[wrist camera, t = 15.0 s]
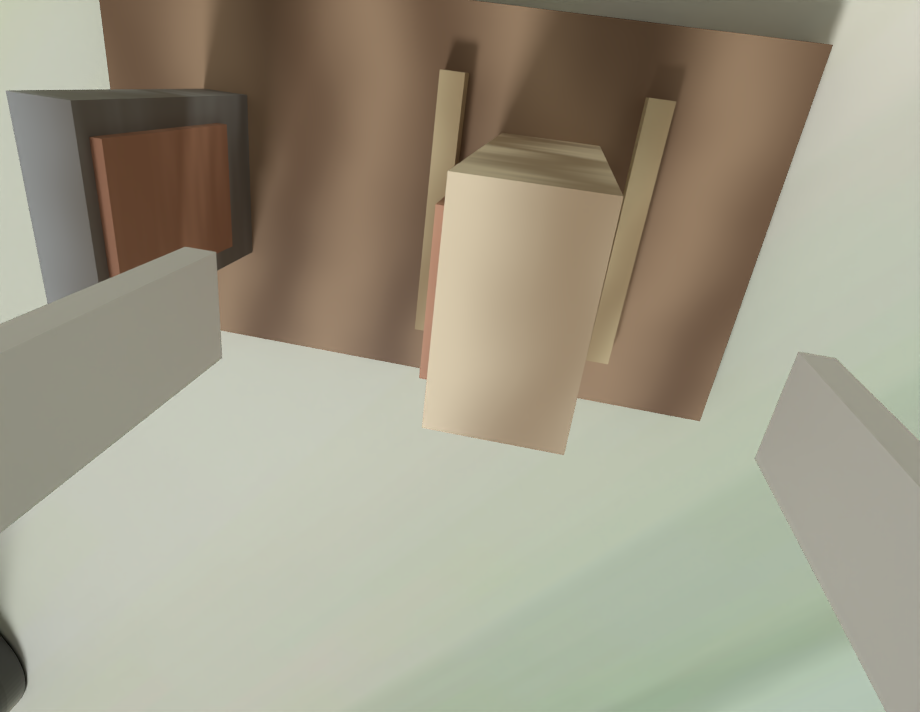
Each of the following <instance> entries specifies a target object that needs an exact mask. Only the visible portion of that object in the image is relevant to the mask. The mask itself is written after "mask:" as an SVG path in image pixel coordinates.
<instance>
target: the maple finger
mask: <svg viewBox="0 0 920 712" xmlns="http://www.w3.org/2000/svg"><path fill="white" fill-rule="evenodd" d="M623 197H624V196H623V194H622V192H621V190H620V188H619V186H618V184H617V181H616V179H615V177H614V175H613V173H612V171H611V169H610V166H609V164H608V162H607V160H606V158H605V156H604V154H603V152H602V149H601V147H600V146H597V145H589V144H582V143H575V142H567V141H560V140H552V139H545V138H538V137H530V136H523V135H516V134H508V133H501V134H500V135H498V136H497V137H496V138H494V139H493V140H491V141H490V142H488V143H487V144H486V145H484V146H483V147H481V148H480V149H478V150H477V151H476V152H474V153H473V154H471V155H470V156H468V157H467V158H466V159H464V160H463V161H461V162H460V163H458V164H457V165H456V166H454V167H453V168H451V169H450V170H448V173H447V183H446V193H445V196H444V197H443V198H442V199H441V200H440V201H439V202H438V203H437V204H436V205H435V216H434V226H433V237H432V248H431V258H430V269H429V279H428V290H427V301H426V311H425V322H424V333H423V343H422V354H421V365H420V375H419V378H422V379H427V382H426V392H425V402H424V412H423V422H422V428H426V429H431V430H437V431H442V432H447V433H452V434H457V435H463V436H468V437H473V438H478V439H483V440H489V441H494V442H499V443H504V444H509V445H515V446H520V447H525V448H530V449H535V450H541V451H546V452H551V453H556V454H561V455H564V452H565V448H566V444H567V439H568V435H569V431H570V426H571V422H572V418H573V413H574V409H575V405H576V400H577V396H578V392H579V387H580V383H581V379H582V374H583V370H584V366H585V361H586V357H587V353H588V348H589V344H590V340H591V335H592V331H593V327H594V322H595V318H596V314H597V309H598V305H599V301H600V296H601V292H602V288H603V283H604V279H605V275H606V270H607V266H608V262H609V257H610V253H611V249H612V244H613V240H614V236H615V231H616V227H617V223H618V218H619V214H620V210H621V205H622V201H623Z"/></svg>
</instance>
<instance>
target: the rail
mask: <svg viewBox="0 0 920 712" xmlns="http://www.w3.org/2000/svg"><path fill="white" fill-rule="evenodd" d="M99 2H100V10H101V18H102V26H103V33H104V41H105V49H106V57H107V65H108V73H109V81H110V89H111V90H21V91H6V94H7V99H8V104H9V109H10V114H11V120H12V125H13V130H14V135H15V140H16V145H17V150H18V155H19V160H20V165H21V170H22V175H23V181H24V186H25V191H26V196H27V201H28V206H29V211H30V216H31V221H32V226H33V231H34V236H35V242H36V247H37V252H38V257H39V262H40V267H41V272H42V277H43V282H44V287H45V292H46V297H47V303H48V304H49V303H52V302H54V301H56V300H59V299H61V298H64V297H66V296H68V295H71V294H73V293H76V292H78V291H80V290H83V289H85V288H87V287H90V286H92V285H95V284H97V283H99V282H102V281H104V280H107V279H109V278H111V277H114V276H116V275H119V274H121V273H123V272H126V271H128V270H131V269H133V268H135V267H138V266H140V265H142V264H145V263H147V262H150V261H152V260H154V259H157V258H159V257H162V256H164V255H166V254H169V253H171V252H174V251H176V250H178V249H181V248H183V247H190V248H196V249H202V250H208V251H214V252H216V260H217V278H218V295H219V313H220V330H222V331H227V332H232V333H238V334H243V335H248V336H253V337H259V338H264V339H269V340H275V341H280V342H285V343H290V344H296V345H301V346H306V347H311V348H317V349H322V350H327V351H333V352H338V353H343V354H348V355H354V356H359V357H364V358H370V359H375V360H380V361H385V362H391V363H396V364H401V365H406V366H412V367H417V368H420V365H421V354H422V343H423V333H424V322H425V311H426V301H427V290H428V279H429V269H430V258H431V248H432V237H433V226H434V216H435V205H436V204H437V203H438V202H439V201H440V200H441V199H442V198H443V197H444V196H445V193H446V183H447V173H448V170H450V169H451V168H453V167H454V166H456V165H457V164H458V163H460V162H461V161H463V160H464V159H466V158H467V157H468V156H470V155H471V154H473V153H474V152H476V151H477V150H478V149H480V148H481V147H483V146H484V145H486V144H487V143H488V142H490V141H491V140H493V139H494V138H496V137H497V136H498V135H500V134H501V133H508V134H516V135H523V136H530V137H538V138H545V139H552V140H560V141H567V142H575V143H582V144H589V145H597V146H600V147H601V149H602V152H603V154H604V156H605V158H606V160H607V162H608V164H609V166H610V169H611V171H612V173H613V175H614V177H615V179H616V181H617V184H618V186H619V188H620V190H621V192H622V194H623V196H624V197H623V201H622V205H621V210H620V214H619V218H618V223H617V227H616V231H615V236H614V240H613V244H612V249H611V253H610V257H609V262H608V266H607V270H606V275H605V279H604V283H603V288H602V292H601V296H600V301H599V305H598V309H597V314H596V318H595V322H594V327H593V331H592V335H591V340H590V344H589V348H588V353H587V357H586V361H585V366H584V370H583V374H582V379H581V383H580V387H579V392H578V396H577V398H581V399H586V400H591V401H596V402H602V403H607V404H612V405H617V406H623V407H628V408H633V409H639V410H644V411H649V412H654V413H660V414H665V415H670V416H676V417H681V418H686V419H691V420H697V421H700V419H701V416H702V413H703V411H704V408H705V405H706V402H707V399H708V396H709V394H710V391H711V388H712V385H713V382H714V380H715V377H716V374H717V371H718V368H719V365H720V363H721V360H722V357H723V354H724V351H725V348H726V346H727V343H728V340H729V337H730V334H731V331H732V329H733V326H734V323H735V320H736V317H737V314H738V312H739V309H740V306H741V303H742V300H743V297H744V295H745V292H746V289H747V286H748V283H749V280H750V278H751V275H752V272H753V269H754V266H755V264H756V261H757V258H758V255H759V252H760V249H761V247H762V244H763V241H764V238H765V235H766V232H767V230H768V227H769V224H770V221H771V218H772V215H773V213H774V210H775V207H776V204H777V201H778V198H779V196H780V193H781V190H782V187H783V184H784V181H785V179H786V176H787V173H788V170H789V167H790V165H791V162H792V159H793V156H794V153H795V150H796V148H797V145H798V142H799V139H800V136H801V133H802V131H803V128H804V125H805V122H806V119H807V116H808V114H809V111H810V108H811V105H812V102H813V99H814V97H815V94H816V91H817V88H818V85H819V82H820V80H821V77H822V74H823V71H824V68H825V65H826V63H827V60H828V57H829V54H830V51H831V49H832V46H833V45H830V44H822V43H814V42H805V41H797V40H789V39H781V38H773V37H765V36H757V35H749V34H741V33H733V32H725V31H716V30H708V29H700V28H692V27H684V26H676V25H668V24H660V23H652V22H644V21H636V20H627V19H619V18H611V17H603V16H595V15H587V14H579V13H571V12H563V11H555V10H547V9H539V8H530V7H522V6H514V5H506V4H498V3H490V2H482V1H474V0H99Z"/></svg>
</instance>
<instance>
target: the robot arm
mask: <svg viewBox="0 0 920 712" xmlns="http://www.w3.org/2000/svg"><path fill="white" fill-rule="evenodd" d="M221 358H222V348H221V331H220V313H219V295H218V278H217V260H216V252H214V251H208V250H202V249H196V248H190V247H183V248H181V249H178V250H176V251H174V252H171V253H169V254H166V255H164V256H162V257H159V258H157V259H154V260H152V261H150V262H147V263H145V264H142V265H140V266H138V267H135V268H133V269H131V270H128V271H126V272H123V273H121V274H119V275H116V276H114V277H111V278H109V279H107V280H104V281H102V282H99V283H97V284H95V285H92V286H90V287H87V288H85V289H83V290H80V291H78V292H76V293H73V294H71V295H68V296H66V297H64V298H61V299H59V300H56V301H54V302H52V303H49V304H47V305H44V306H42V307H40V308H37V309H35V310H32V311H30V312H28V313H25V314H23V315H21V316H18V317H16V318H13V319H11V320H9V321H6V322H4V323H1V324H0V533H1V532H2V531H3V530H5V529H6V528H7V527H8V526H10V525H11V524H12V523H14V522H15V521H16V520H17V519H19V518H20V517H21V516H22V515H24V514H25V513H26V512H27V511H29V510H30V509H31V508H33V507H34V506H35V505H36V504H38V503H39V502H40V501H41V500H43V499H44V498H45V497H46V496H48V495H49V494H50V493H52V492H53V491H54V490H55V489H57V488H58V487H59V486H60V485H62V484H63V483H64V482H65V481H67V480H68V479H69V478H71V477H72V476H73V475H74V474H76V473H77V472H78V471H79V470H81V469H82V468H83V467H84V466H86V465H87V464H88V463H90V462H91V461H92V460H93V459H95V458H96V457H97V456H98V455H100V454H101V453H102V452H103V451H105V450H106V449H107V448H109V447H110V446H111V445H112V444H114V443H115V442H116V441H117V440H119V439H120V438H121V437H122V436H124V435H125V434H126V433H128V432H129V431H130V430H131V429H133V428H134V427H135V426H136V425H138V424H139V423H140V422H141V421H143V420H144V419H145V418H147V417H148V416H149V415H150V414H152V413H153V412H154V411H155V410H157V409H158V408H159V407H160V406H162V405H163V404H164V403H166V402H167V401H168V400H169V399H171V398H172V397H173V396H174V395H176V394H177V393H178V392H179V391H181V390H182V389H183V388H185V387H186V386H187V385H188V384H190V383H191V382H192V381H193V380H195V379H196V378H197V377H198V376H200V375H201V374H202V373H204V372H205V371H206V370H207V369H209V368H210V367H211V366H212V365H214V364H215V363H216V362H217V361H219V360H220V359H221ZM755 460H756V462H757V464H758V466H759V468H760V470H761V472H762V473H763V475H764V477H765V479H766V481H767V483H768V485H769V487H770V489H771V491H772V493H773V495H774V497H775V499H776V500H777V502H778V504H779V506H780V508H781V510H782V512H783V514H784V516H785V518H786V520H787V522H788V524H789V526H790V528H791V529H792V531H793V533H794V535H795V537H796V539H797V541H798V543H799V545H800V547H801V549H802V551H803V553H804V555H805V556H806V558H807V560H808V562H809V564H810V566H811V568H812V570H813V572H814V574H815V576H816V578H817V580H818V582H819V583H820V585H821V587H822V589H823V591H824V593H825V595H826V597H827V599H828V601H829V603H830V605H831V607H832V609H833V611H834V612H835V614H836V616H837V618H838V620H839V622H840V624H841V626H842V628H843V630H844V632H845V634H846V636H847V638H848V639H849V641H850V643H851V645H852V647H853V649H854V651H855V653H856V655H857V657H858V659H859V661H860V663H861V665H862V666H863V668H864V670H865V672H866V674H867V676H868V678H869V680H870V682H871V684H872V686H873V688H874V690H875V692H876V693H877V695H878V697H879V699H880V701H881V703H882V705H883V707H884V709H885V711H886V712H920V441H919V440H918V439H917V438H916V437H915V436H914V435H913V434H912V433H911V432H910V431H909V430H908V429H907V428H906V427H905V426H904V425H903V424H902V423H901V422H900V421H899V420H898V419H897V418H896V417H895V416H894V415H893V414H892V413H891V412H890V411H889V410H888V409H887V408H886V407H885V406H884V405H883V404H882V403H881V402H880V401H879V400H878V399H877V398H876V397H875V396H874V395H873V394H872V393H871V392H870V391H869V390H868V389H867V388H866V387H865V386H863V385H862V384H861V383H860V382H859V381H858V380H857V379H856V378H855V377H854V376H853V375H852V374H851V373H850V372H849V371H848V370H847V369H846V368H845V367H844V366H843V365H842V364H841V363H840V362H839V361H838V360H837V359H836V358H832V357H826V356H820V355H814V354H809V353H803V352H798V354H797V356H796V359H795V361H794V364H793V366H792V369H791V371H790V373H789V376H788V378H787V381H786V383H785V386H784V388H783V390H782V393H781V395H780V398H779V400H778V403H777V405H776V408H775V410H774V412H773V415H772V417H771V420H770V422H769V425H768V427H767V429H766V432H765V434H764V437H763V439H762V442H761V444H760V446H759V449H758V451H757V454H756V456H755ZM24 691H25V676H24V672H23V669H22V667H21V664H20V662H19V660H18V658H17V657H16V655H15V653H14V652H13V650H12V649H11V648H10V646H9V645H8V644H7V643H6V641H5V640H4V639H3V638H2V637H1V636H0V712H9V711H10V710H11V709H12V708H13V707H14V706H15V705H16V704H17V703H18V701H19V700H20V699H21V698H22V696H23V694H24Z"/></svg>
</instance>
